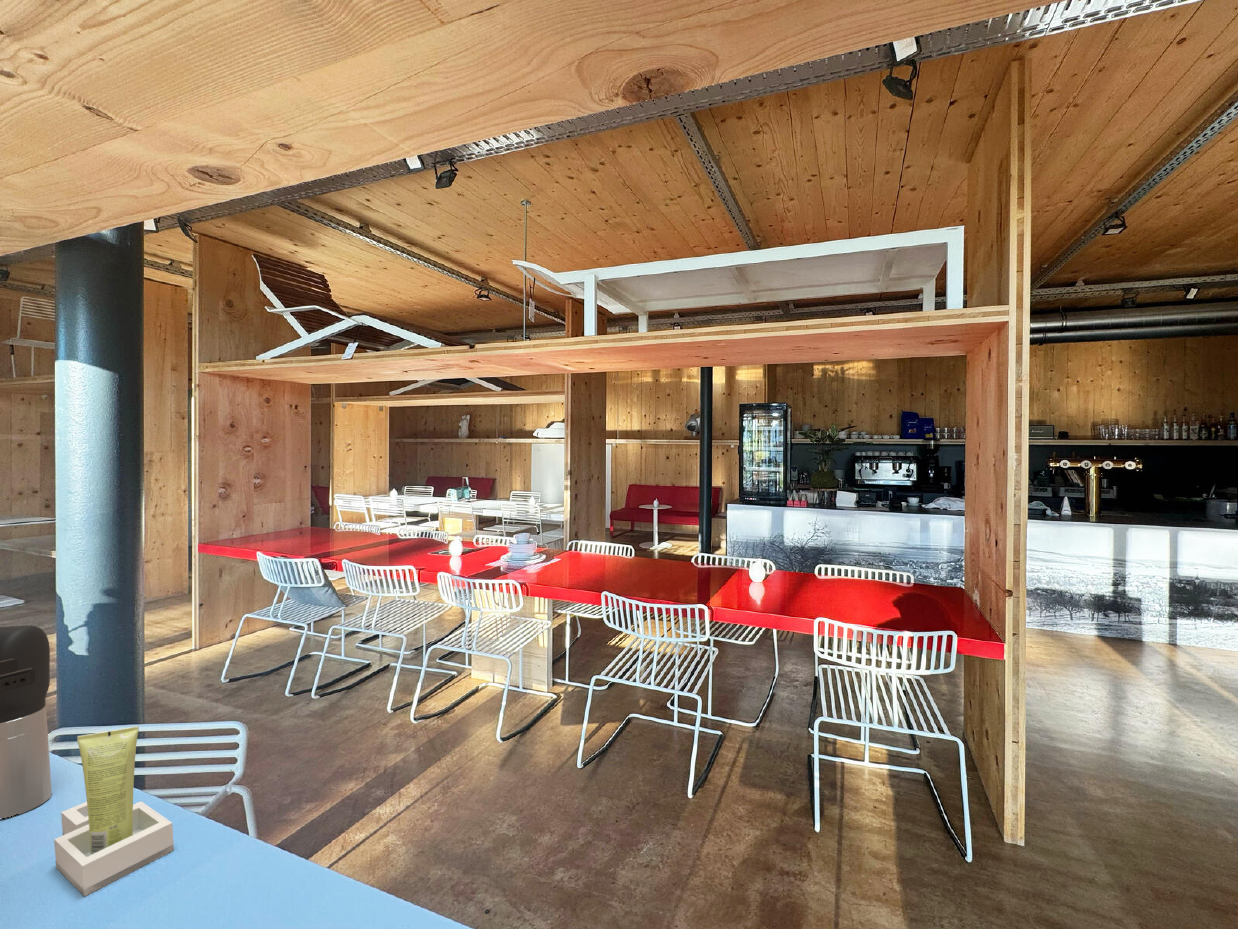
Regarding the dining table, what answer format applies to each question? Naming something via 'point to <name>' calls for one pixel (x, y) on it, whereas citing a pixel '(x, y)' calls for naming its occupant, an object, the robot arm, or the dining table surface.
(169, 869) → the dining table surface
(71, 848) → the endcap
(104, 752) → the tube
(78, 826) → the endcap
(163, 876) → the dining table surface
